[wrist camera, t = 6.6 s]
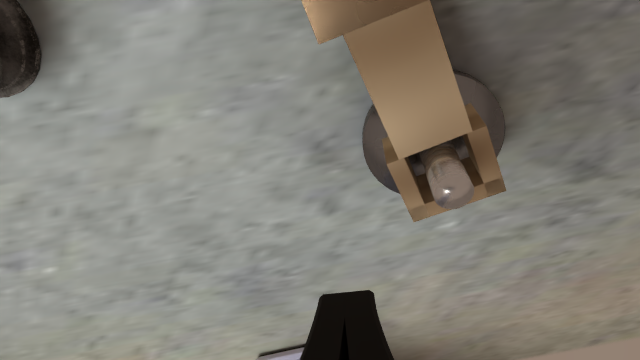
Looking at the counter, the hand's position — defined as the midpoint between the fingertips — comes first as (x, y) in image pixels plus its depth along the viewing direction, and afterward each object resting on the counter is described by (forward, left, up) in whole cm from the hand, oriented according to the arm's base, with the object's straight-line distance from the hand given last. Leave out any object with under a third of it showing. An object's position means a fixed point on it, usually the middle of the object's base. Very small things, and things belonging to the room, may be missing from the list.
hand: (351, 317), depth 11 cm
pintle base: (-1, -4, -9) cm, 10 cm away
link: (+3, -3, -8) cm, 10 cm away
